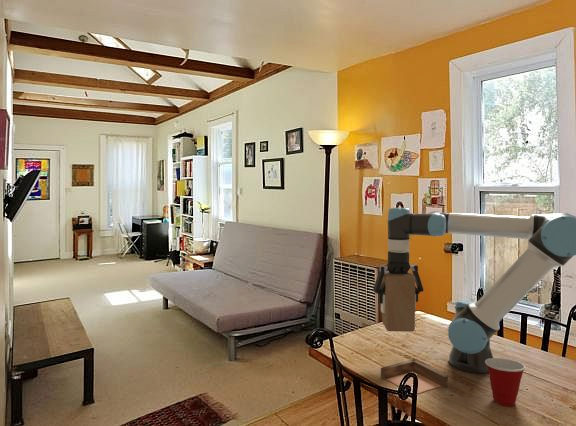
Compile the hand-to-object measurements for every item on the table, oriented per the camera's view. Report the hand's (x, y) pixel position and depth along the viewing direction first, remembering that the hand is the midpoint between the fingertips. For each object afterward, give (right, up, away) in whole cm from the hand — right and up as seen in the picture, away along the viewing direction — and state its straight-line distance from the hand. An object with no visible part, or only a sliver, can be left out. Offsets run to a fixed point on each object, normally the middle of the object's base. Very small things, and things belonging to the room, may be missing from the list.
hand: (398, 311), depth 148 cm
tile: (+2, -21, -13) cm, 24 cm away
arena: (+2, -21, -13) cm, 24 cm away
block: (0, -6, 0) cm, 6 cm away
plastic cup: (+25, -21, -25) cm, 41 cm away
